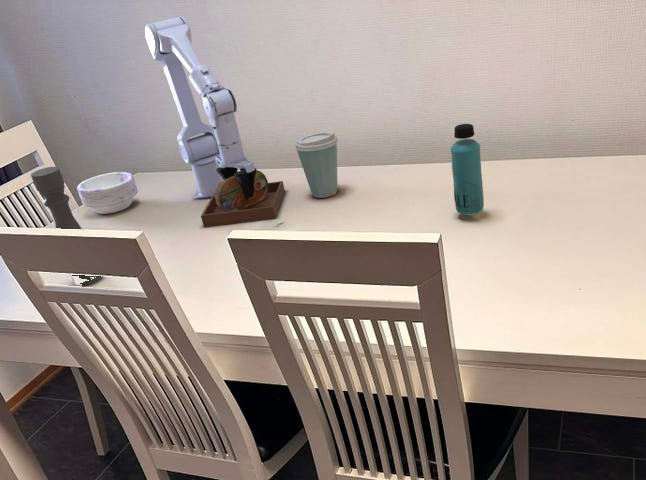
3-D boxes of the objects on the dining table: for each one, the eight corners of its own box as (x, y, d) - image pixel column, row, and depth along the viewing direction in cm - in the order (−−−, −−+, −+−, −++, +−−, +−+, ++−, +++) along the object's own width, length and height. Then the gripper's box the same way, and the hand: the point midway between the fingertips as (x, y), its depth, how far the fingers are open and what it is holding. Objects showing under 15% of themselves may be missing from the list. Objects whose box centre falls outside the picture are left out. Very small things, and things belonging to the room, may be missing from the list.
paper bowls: (152, 197, 199) (143, 170, 195) (116, 219, 188) (106, 191, 184) (112, 196, 206) (102, 170, 201) (75, 217, 195) (64, 190, 190)
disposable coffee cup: (298, 201, 180) (286, 142, 172) (316, 185, 188) (305, 129, 180) (335, 201, 176) (325, 141, 168) (352, 185, 184) (342, 127, 176)
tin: (224, 218, 176) (215, 185, 172) (217, 215, 178) (208, 183, 174) (272, 197, 184) (265, 165, 179) (265, 195, 186) (257, 164, 182)
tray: (219, 200, 190) (216, 189, 188) (285, 191, 188) (282, 180, 186) (203, 227, 175) (200, 215, 173) (275, 218, 173) (272, 206, 171)
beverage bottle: (487, 209, 158) (482, 119, 147) (481, 221, 153) (476, 129, 142) (458, 209, 161) (452, 121, 150) (452, 221, 156) (444, 131, 145)
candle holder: (78, 275, 160) (34, 169, 147) (105, 271, 160) (63, 164, 147) (71, 288, 155) (25, 178, 142) (99, 283, 155) (55, 173, 142)
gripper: (199, 143, 174) (214, 195, 182) (231, 151, 165) (245, 205, 172) (223, 135, 178) (236, 186, 185) (256, 141, 168) (268, 195, 176)
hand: (242, 195), depth 179 cm, fingers open, 6 cm apart
